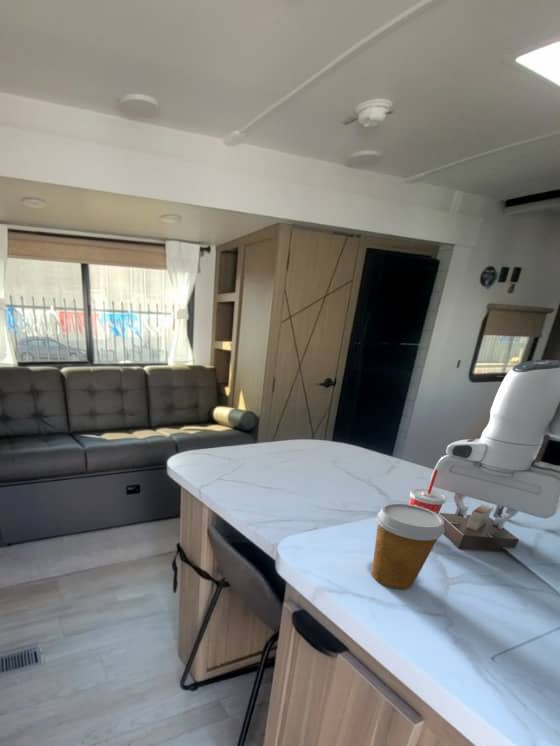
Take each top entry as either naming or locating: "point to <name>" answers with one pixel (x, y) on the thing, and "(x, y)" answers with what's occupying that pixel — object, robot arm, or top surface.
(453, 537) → the brown square box
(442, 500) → the beverage cup
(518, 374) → the robot arm
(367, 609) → the top surface
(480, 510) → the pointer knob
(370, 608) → the top surface
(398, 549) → the disposable coffee cup
